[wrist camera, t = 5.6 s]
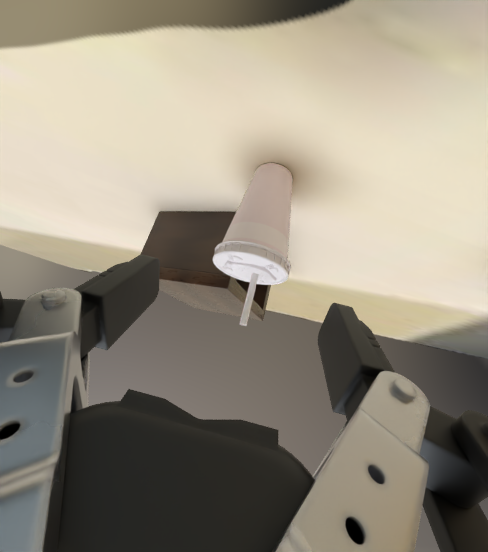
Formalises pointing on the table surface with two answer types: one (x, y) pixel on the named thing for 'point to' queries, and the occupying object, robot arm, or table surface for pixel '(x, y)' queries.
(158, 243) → the shelf
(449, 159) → the table surface
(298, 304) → the table surface
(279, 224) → the smoothie
